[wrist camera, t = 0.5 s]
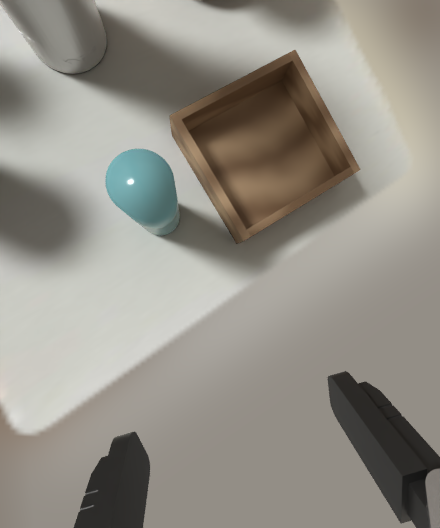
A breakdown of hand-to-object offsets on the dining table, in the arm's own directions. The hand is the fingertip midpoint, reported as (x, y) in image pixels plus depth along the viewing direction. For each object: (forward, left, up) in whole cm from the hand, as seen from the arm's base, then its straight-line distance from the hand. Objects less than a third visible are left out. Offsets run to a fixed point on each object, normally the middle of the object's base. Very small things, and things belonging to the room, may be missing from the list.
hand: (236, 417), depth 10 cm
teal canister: (-14, +2, -24) cm, 28 cm away
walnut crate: (-14, +18, -24) cm, 33 cm away
